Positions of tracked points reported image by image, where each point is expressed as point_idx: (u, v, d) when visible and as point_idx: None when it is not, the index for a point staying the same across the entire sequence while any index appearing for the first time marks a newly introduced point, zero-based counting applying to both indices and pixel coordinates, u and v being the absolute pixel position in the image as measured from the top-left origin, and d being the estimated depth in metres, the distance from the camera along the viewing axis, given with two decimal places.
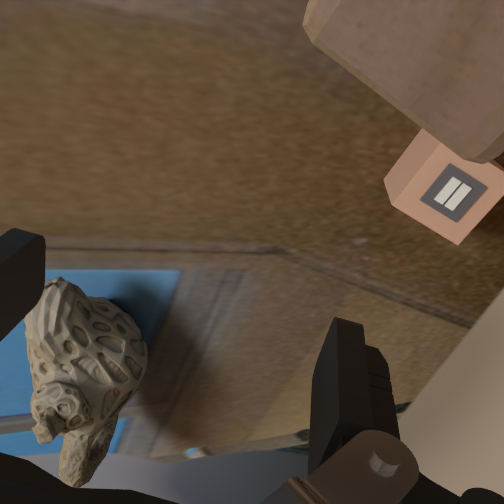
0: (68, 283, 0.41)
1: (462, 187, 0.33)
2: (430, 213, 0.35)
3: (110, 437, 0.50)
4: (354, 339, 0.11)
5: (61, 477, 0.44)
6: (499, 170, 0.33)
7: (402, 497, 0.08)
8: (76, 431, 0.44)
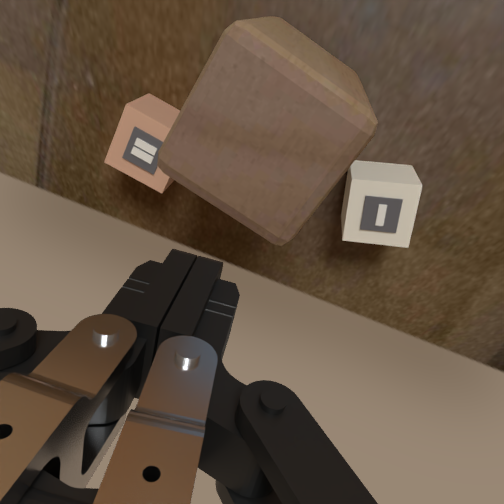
0: None
1: (149, 157, 0.43)
2: (125, 136, 0.43)
3: None
4: (207, 272, 0.12)
5: None
6: (167, 180, 0.44)
7: (189, 382, 0.09)
8: None
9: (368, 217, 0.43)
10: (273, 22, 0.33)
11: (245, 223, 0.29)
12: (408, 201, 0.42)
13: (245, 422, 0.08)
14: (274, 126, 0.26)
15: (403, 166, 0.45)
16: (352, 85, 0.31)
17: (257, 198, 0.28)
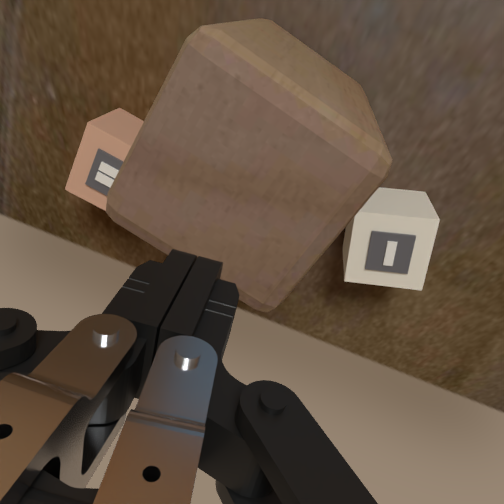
0: None
1: None
2: (87, 160, 0.36)
3: None
4: (207, 272, 0.12)
5: None
6: None
7: (189, 382, 0.09)
8: None
9: (375, 255, 0.36)
10: (259, 26, 0.27)
11: None
12: (422, 238, 0.35)
13: (245, 422, 0.08)
14: (254, 165, 0.20)
15: (415, 193, 0.39)
16: (357, 106, 0.24)
17: (234, 255, 0.22)
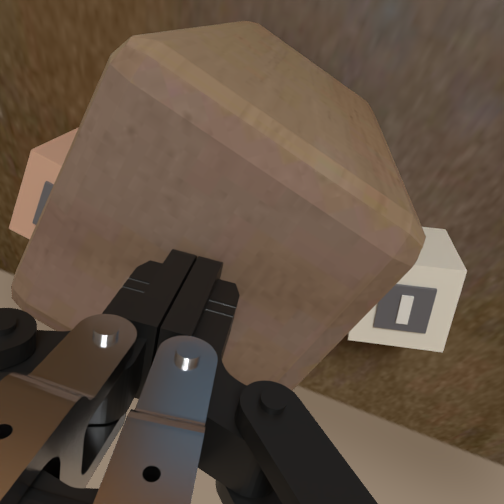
0: None
1: None
2: (34, 194, 0.29)
3: None
4: (207, 272, 0.12)
5: None
6: None
7: (189, 382, 0.09)
8: None
9: (385, 312, 0.29)
10: (236, 32, 0.20)
11: None
12: (445, 292, 0.28)
13: (245, 422, 0.08)
14: (218, 244, 0.13)
15: (433, 231, 0.32)
16: (369, 143, 0.18)
17: None
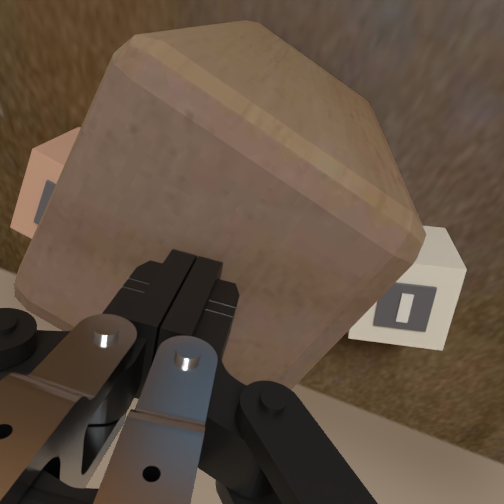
0: None
1: None
2: (35, 193, 0.30)
3: None
4: (207, 272, 0.12)
5: None
6: None
7: (189, 382, 0.09)
8: None
9: (385, 310, 0.29)
10: (237, 32, 0.20)
11: None
12: (445, 290, 0.29)
13: (245, 422, 0.08)
14: (220, 242, 0.13)
15: (433, 230, 0.32)
16: (369, 141, 0.18)
17: None
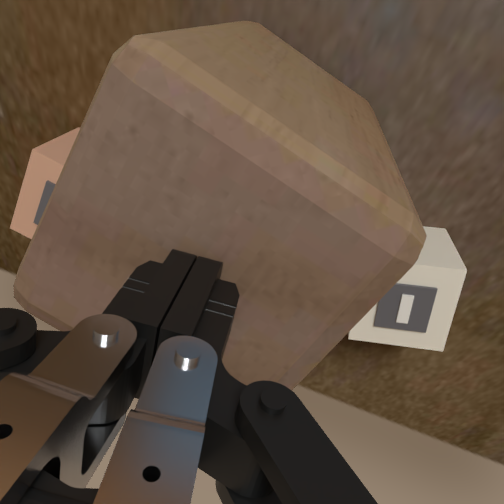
0: None
1: None
2: (35, 194, 0.30)
3: None
4: (207, 272, 0.12)
5: None
6: None
7: (189, 382, 0.09)
8: None
9: (386, 311, 0.29)
10: (237, 32, 0.20)
11: None
12: (445, 291, 0.28)
13: (245, 422, 0.08)
14: (219, 243, 0.13)
15: (433, 231, 0.32)
16: (369, 142, 0.18)
17: None
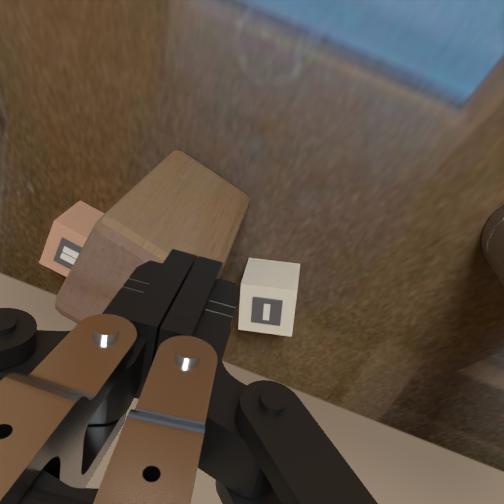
0: None
1: None
2: (54, 244, 0.51)
3: None
4: (207, 272, 0.12)
5: None
6: None
7: (189, 382, 0.09)
8: None
9: (256, 313, 0.51)
10: (158, 179, 0.42)
11: None
12: (287, 302, 0.50)
13: (245, 422, 0.08)
14: None
15: (292, 265, 0.54)
16: (213, 238, 0.40)
17: None
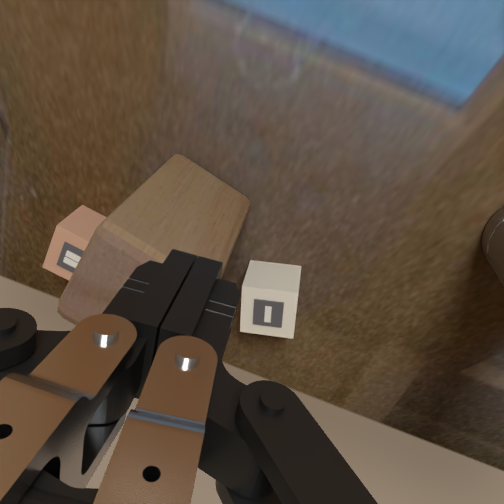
0: None
1: None
2: (57, 248, 0.52)
3: None
4: (207, 272, 0.12)
5: None
6: None
7: (189, 382, 0.09)
8: None
9: (258, 315, 0.52)
10: (159, 183, 0.42)
11: None
12: (289, 304, 0.51)
13: (245, 422, 0.08)
14: None
15: (293, 267, 0.55)
16: (214, 241, 0.40)
17: None
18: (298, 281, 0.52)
